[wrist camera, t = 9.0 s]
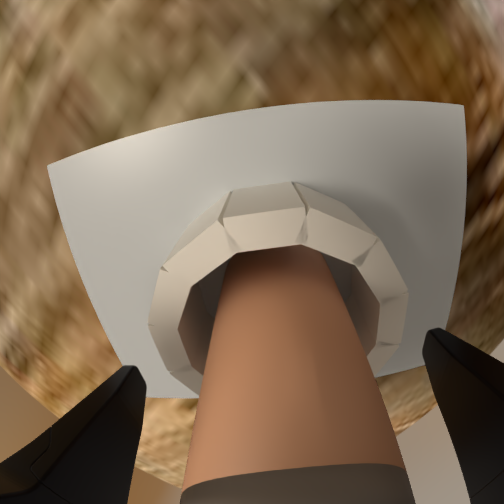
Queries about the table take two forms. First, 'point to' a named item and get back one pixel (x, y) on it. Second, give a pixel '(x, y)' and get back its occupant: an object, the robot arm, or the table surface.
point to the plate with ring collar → (269, 223)
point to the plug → (289, 395)
